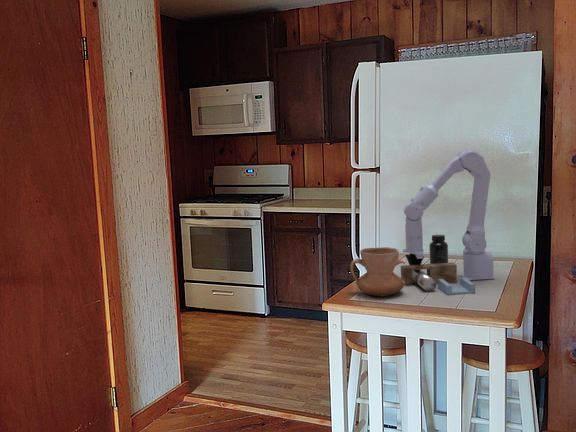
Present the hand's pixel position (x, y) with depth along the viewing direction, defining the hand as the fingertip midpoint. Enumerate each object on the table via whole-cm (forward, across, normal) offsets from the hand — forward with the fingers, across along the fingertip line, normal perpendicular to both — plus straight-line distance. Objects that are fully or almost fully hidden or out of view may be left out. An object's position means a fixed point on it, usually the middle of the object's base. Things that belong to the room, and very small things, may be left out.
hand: (414, 274), depth 192 cm
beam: (+1, +6, +3) cm, 7 cm away
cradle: (+1, +18, +8) cm, 20 cm away
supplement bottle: (+2, -17, +14) cm, 22 cm away
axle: (-1, +10, 0) cm, 10 cm away
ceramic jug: (+2, +15, -16) cm, 22 cm away
